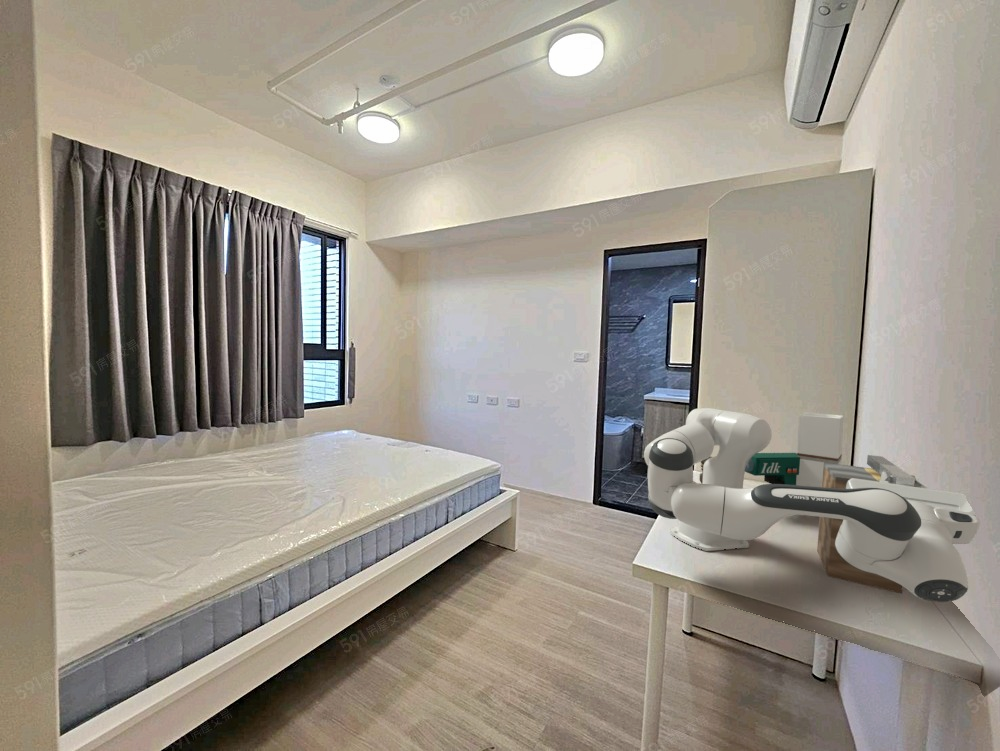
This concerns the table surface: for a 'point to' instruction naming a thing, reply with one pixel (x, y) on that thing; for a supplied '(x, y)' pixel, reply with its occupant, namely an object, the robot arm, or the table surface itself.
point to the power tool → (775, 467)
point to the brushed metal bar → (890, 470)
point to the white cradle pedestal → (818, 446)
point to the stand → (830, 526)
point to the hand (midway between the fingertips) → (898, 475)
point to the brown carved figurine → (702, 468)
